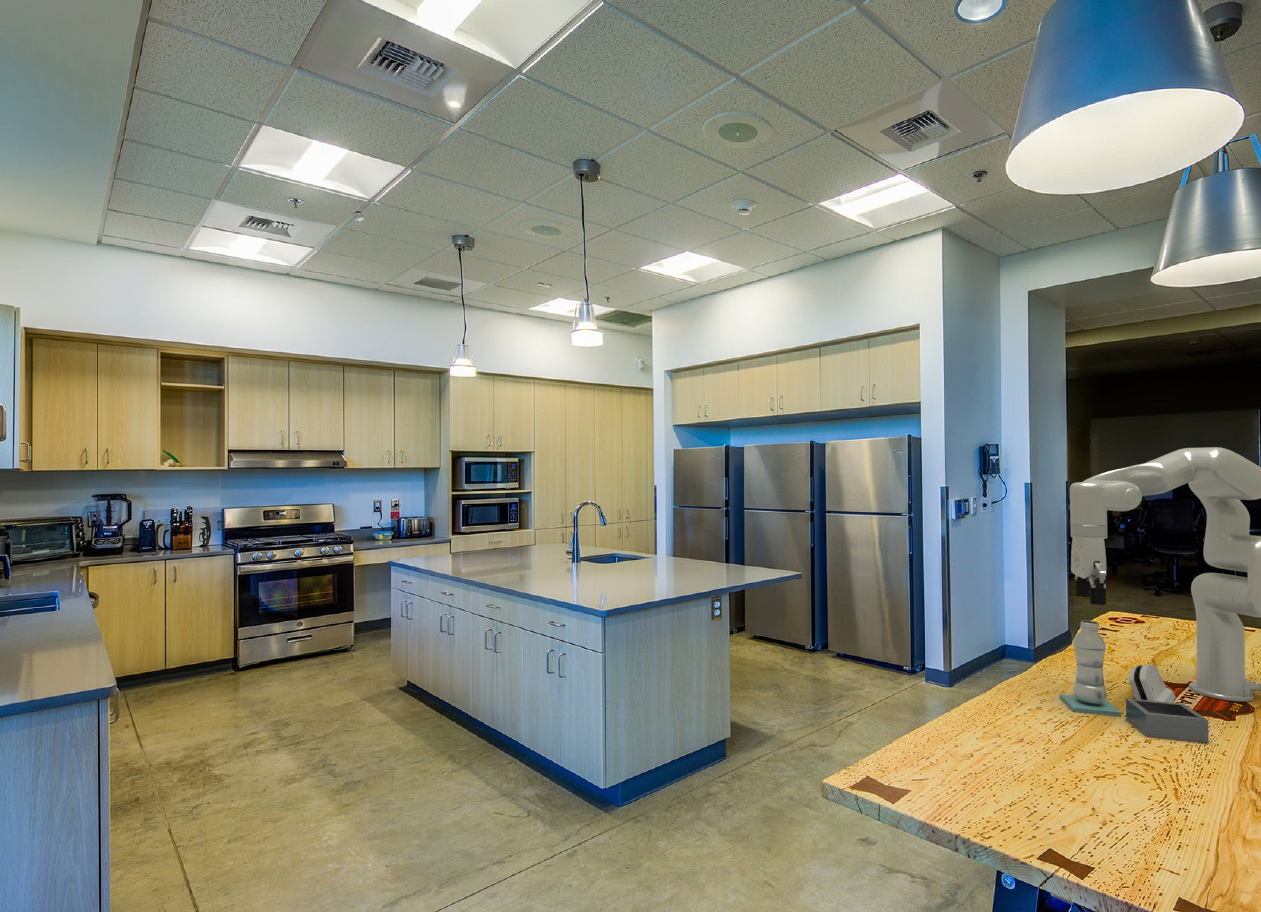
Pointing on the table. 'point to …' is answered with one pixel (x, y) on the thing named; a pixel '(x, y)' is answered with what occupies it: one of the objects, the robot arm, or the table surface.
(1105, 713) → the board
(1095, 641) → the plastic bottle
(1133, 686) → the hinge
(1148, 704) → the square socket
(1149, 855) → the table surface
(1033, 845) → the table surface
